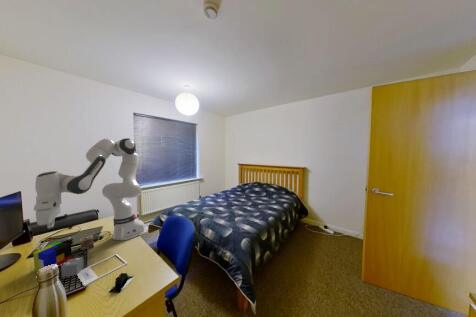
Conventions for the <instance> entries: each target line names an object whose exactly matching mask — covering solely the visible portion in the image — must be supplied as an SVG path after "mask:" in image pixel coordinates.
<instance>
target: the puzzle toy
mask: <svg viewBox="0 0 476 317" xmlns="http://www.w3.org/2000/svg"><path fill="white" fill-rule="evenodd" d="M32 255H33V265H34V271H35V272H39V271H38V270H39V269H41V268H43V267H45V266H48V265H51V264H57V265H60V264H62V263H64V262H67V261H68V260H69V259H73V256H72V255H73V254H72V243H71V242H70V243H68V242H60V241H57V242H54V243H52V244H49V245H47V246H45V247H42V248H40V249H39V250H36V251H34V252H32Z"/></svg>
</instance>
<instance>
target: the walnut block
mask: <svg viewBox="0 0 476 317" xmlns="http://www.w3.org/2000/svg"><path fill="white" fill-rule="evenodd" d="M79 241H80V251H81V250H83V249H86V250H88V249H92V248H95V244H94V235H93V234H90V235H87V236H84V237H80V240H79ZM83 251H84V250H83Z"/></svg>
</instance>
